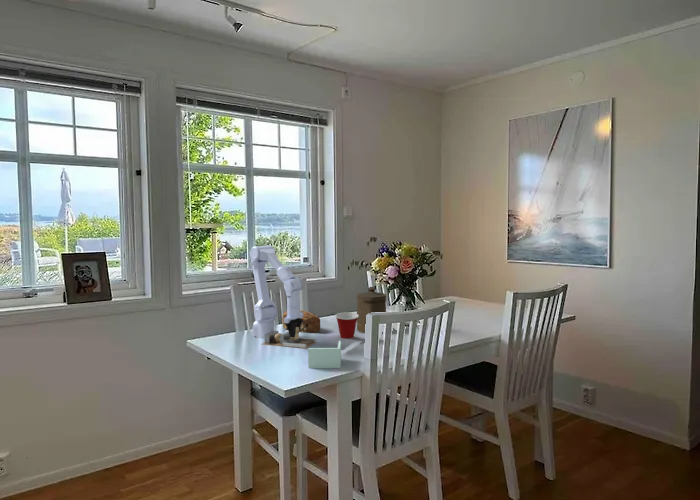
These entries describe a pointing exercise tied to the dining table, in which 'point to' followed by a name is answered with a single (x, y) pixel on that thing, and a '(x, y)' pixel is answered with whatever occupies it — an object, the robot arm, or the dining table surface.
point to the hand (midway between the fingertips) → (294, 336)
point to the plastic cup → (346, 324)
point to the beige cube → (287, 338)
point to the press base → (303, 344)
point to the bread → (306, 322)
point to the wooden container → (369, 306)
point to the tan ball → (277, 337)
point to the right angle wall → (324, 357)
